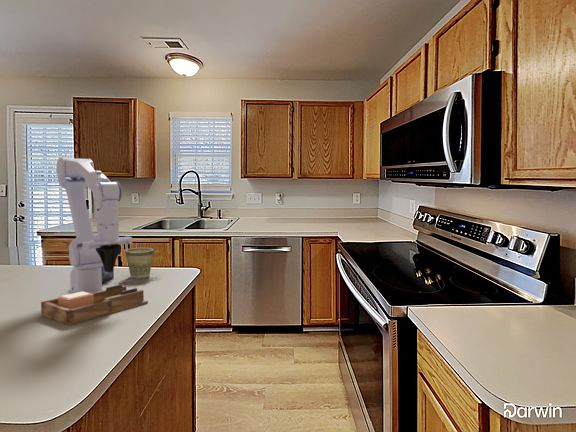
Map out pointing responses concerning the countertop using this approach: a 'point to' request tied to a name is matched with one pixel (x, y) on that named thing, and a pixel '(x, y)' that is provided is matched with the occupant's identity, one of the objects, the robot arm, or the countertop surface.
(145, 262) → the ceramic cup
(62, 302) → the block
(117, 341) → the countertop surface
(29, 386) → the countertop surface
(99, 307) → the wooden tray
